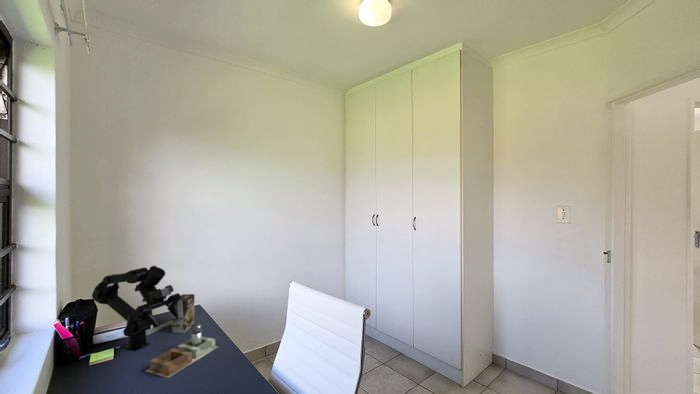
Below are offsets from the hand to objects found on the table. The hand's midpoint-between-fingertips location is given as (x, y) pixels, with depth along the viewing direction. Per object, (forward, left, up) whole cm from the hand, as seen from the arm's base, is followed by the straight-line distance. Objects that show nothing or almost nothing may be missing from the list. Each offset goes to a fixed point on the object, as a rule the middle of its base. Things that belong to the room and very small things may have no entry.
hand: (168, 321), depth 125 cm
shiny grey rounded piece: (+10, +5, -13) cm, 17 cm away
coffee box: (-14, +20, -14) cm, 28 cm away
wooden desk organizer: (+11, -1, -14) cm, 17 cm away
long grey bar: (-27, +19, -14) cm, 36 cm away
